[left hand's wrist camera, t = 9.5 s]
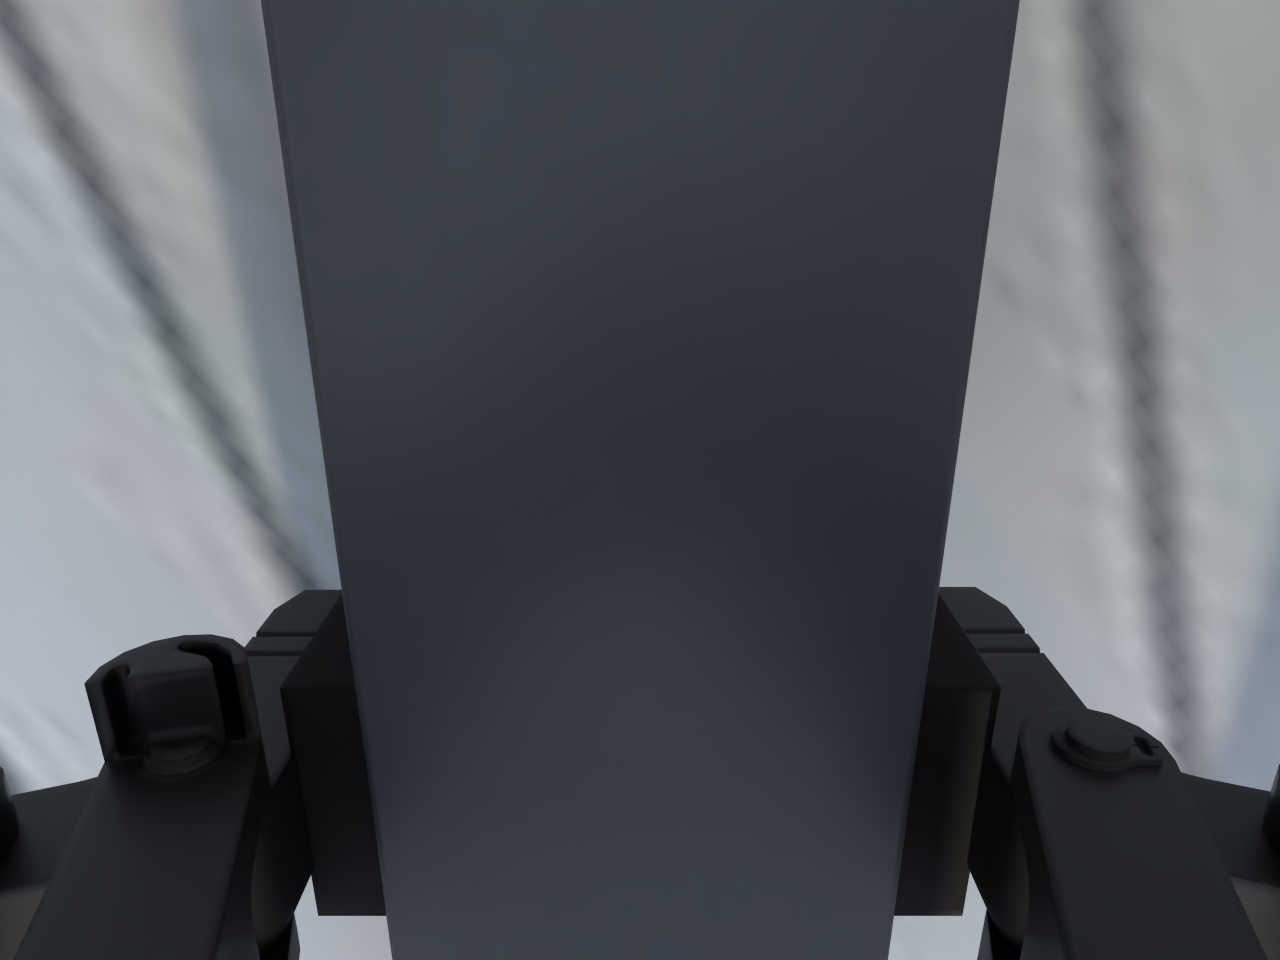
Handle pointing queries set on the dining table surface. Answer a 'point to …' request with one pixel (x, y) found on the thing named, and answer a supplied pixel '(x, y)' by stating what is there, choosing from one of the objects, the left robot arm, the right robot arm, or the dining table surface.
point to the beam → (640, 446)
